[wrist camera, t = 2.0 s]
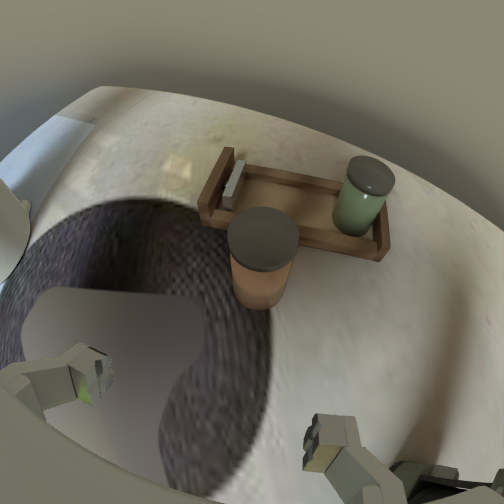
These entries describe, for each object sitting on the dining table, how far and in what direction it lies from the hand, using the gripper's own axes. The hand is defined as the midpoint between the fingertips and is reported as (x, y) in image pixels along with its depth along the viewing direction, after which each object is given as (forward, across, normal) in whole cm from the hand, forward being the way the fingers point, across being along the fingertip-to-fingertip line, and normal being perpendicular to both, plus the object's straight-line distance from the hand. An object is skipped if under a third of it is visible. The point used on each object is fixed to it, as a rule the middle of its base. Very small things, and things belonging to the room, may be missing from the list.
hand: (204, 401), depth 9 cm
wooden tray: (+26, -2, -6) cm, 27 cm away
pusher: (+26, +6, -6) cm, 27 cm away
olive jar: (+26, -9, -6) cm, 28 cm away
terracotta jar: (+19, 0, +2) cm, 19 cm away
